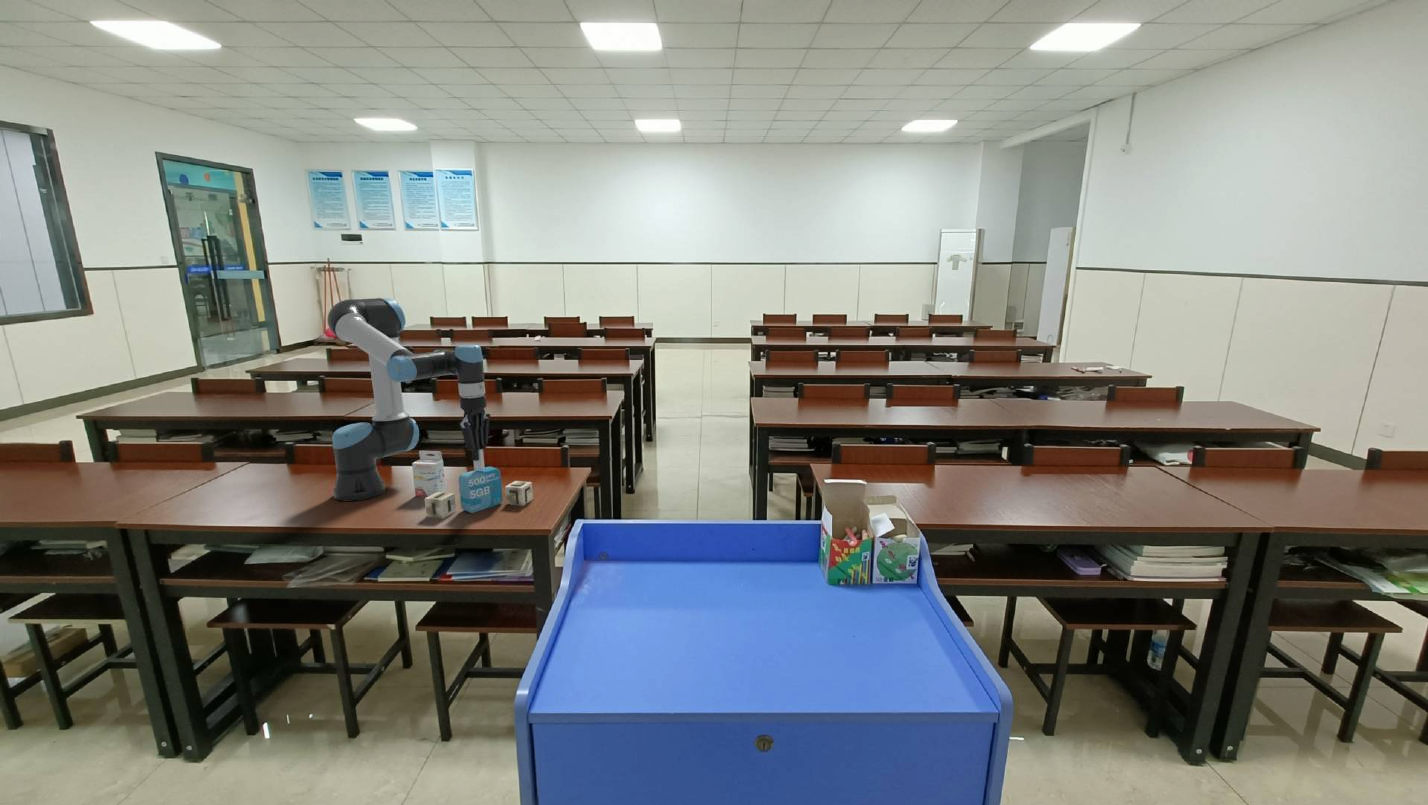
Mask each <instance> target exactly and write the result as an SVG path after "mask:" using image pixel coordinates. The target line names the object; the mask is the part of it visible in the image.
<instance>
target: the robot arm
mask: <svg viewBox="0 0 1428 805" xmlns="http://www.w3.org/2000/svg"><path fill="white" fill-rule="evenodd" d="M327 314H328V315H327V325H328V327H329V330H330V331H331V333H333V335H334V336H336V337H337V338H338V339H339V340H342V341H343V342H349V343H352V344H353V345H354V346H356V347H358V348H359V349H360V350H361V351H363V352H365V353H366V354H368V362H369V368H370V375H371V376H370V378H371V383H372V391H373V400H374V405H375V406H374V407H375V414H374V416H373V417H372V418H371V421H372V424H371V422H356V423H351V424H347V425H345V426H341V427H339V428H337V429H336V430H335V431H334V432H333V433H332V448H333V456H334V461H335V468H336V479H335V484H334V488H333V498H335V499H334V500H336V499H337V500H336V501H339V500H345V501H344V502H350V501H349V500H357V501H362V500H367V499H371V498H370V497H372V498H374V497H377V496H379V494H380V495H382V494H383V493H384V492H385V491H386V486H385V481H384V480H383V479H382V477H381V475H380V473H379V471H378V468H377V460H378V459H382V458H385V457H391V456H395V455H398V454H403V453H405V452H408V451H411V450H412V449H414V448H415V447H416V445H417V444H418V442H419V437H420V431H419V427H418V424H417V422H416V420H415V419H413V418H411V417H410V414H409V412H406V411H405V410H404V409H405V408H404V402H403V400H404V399H403V394H402V382H404V383H407V382H408V383H409V382H411V381H417V380H422V379H423V380H424V379H429V378H434V377H436V378H437V377H440V376H441V377H442V376H450V375H452V376H457V384H458V394H459V396H460V397H459V404H460V405H459V406H460V409H461V410H463V419H462V421H459V422H458V426H459V428H460V429H461V433H462V436H463V441H464V444H465V447H466V448H465V449H466V450H467V451H471V455H472V456H471V457H472V460H473V469H474V470H484V469H485V457H484V456H485V454H484V450H485V449H486V448H487V445H488V443H489V428H490V427H489V426H490V420H491V414H490V413H486V410H485V408H487V406H488V405H487V403H488V402H487V396H486V395H485V394H486V387H485V373H484V371H485V370H484V369H485V368H484V357H483V353H482V348H481V346H480V345H478V344H461V345H457V346H455V348H454V350H452V349H446V348H445V349H436V350H433V351H429V352H421V353H420V352H419V353H413V352H412V351H410V350H409V349H407V348H406V347H404V346H403V345H401V344H399V343H398V342H397V341H398V340H399V339H400V332H402V331H403V330H404V329H405V326H406V316H405V313H404V310H403V309H402V307H401V305H400V304H399V303H398V302H397V301H396V300H394V299H393V298H392V299H391V298H383V297H381V298H380V297H377V298H375V297H374V298H361V299H359V298H358V299H353V298H352V299H345V300H341V301H339V302H337V303H336V304H334V305H333V306H332V307H331V309H330V310H329V312H328V313H327ZM474 470H473V471H474ZM346 500H347V501H346Z"/></svg>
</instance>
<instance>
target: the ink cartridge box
mask: <svg viewBox="0 0 1428 805" xmlns="http://www.w3.org/2000/svg"><path fill="white" fill-rule="evenodd" d="M442 454H443V453H442V452H441V451H440V450H439V451H438V450H419V451H418V455H419V459H417V460H415V461H414V462H412V463H411V466H412V475H413V486H414V495H415V497H425V498H427V497H429V496H431V495H433V494H435V493H437V492H445V493H447V488H446V478H445V470H444V469H445V468H444V460H443V456H442Z"/></svg>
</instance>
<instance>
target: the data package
mask: <svg viewBox="0 0 1428 805" xmlns="http://www.w3.org/2000/svg"><path fill="white" fill-rule="evenodd" d="M484 467H485V466H484ZM501 474H502V473H501V471H500V469H498V468H496V467H493V466H486V467H485V469H484V470H471V471H468V472H463V473H461V474H460V475H459V476H458V487H459V488H458V489H459V498H460V507H461V508H460V509H462V510H463V511H465V512H468V513H470V514H475V513H477V512H480V511H483V510H487V509H491V508H493V507H496V506H498V505H500V504H501V503H502V502H503V500H504V499H503V487H502V484H503V483H502V476H501ZM486 508H487V509H486Z"/></svg>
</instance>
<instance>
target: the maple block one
mask: <svg viewBox="0 0 1428 805" xmlns="http://www.w3.org/2000/svg"><path fill="white" fill-rule="evenodd" d="M424 505H425V507H424V508H425V514H426V515H425V516H426V517H427V518H434V519H443V520H444V519H446V518H447V517H449V516H451V515H452V514H454V513H456V512H457V507H456V496H455V492H453V493H452V492H446V493H445V492H437V493H435V494H433V495H431V496H429V497H425V498H424Z"/></svg>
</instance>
